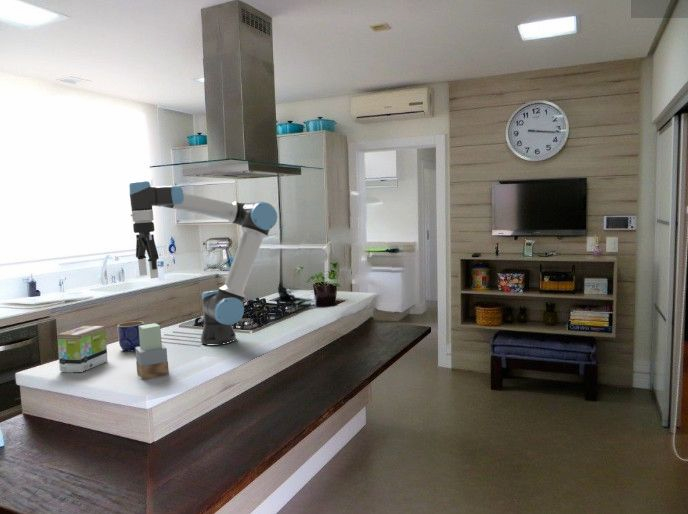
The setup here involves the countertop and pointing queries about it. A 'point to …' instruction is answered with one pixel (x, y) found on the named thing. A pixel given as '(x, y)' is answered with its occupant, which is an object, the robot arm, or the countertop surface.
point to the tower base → (152, 370)
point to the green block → (150, 336)
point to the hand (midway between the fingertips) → (148, 276)
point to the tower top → (151, 356)
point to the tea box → (82, 348)
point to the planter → (129, 335)
